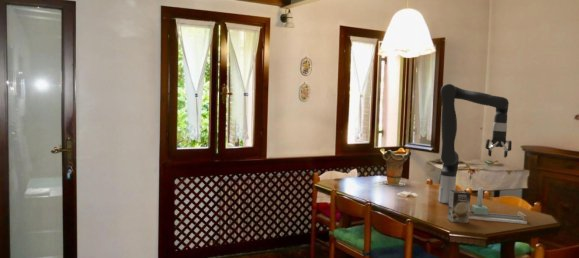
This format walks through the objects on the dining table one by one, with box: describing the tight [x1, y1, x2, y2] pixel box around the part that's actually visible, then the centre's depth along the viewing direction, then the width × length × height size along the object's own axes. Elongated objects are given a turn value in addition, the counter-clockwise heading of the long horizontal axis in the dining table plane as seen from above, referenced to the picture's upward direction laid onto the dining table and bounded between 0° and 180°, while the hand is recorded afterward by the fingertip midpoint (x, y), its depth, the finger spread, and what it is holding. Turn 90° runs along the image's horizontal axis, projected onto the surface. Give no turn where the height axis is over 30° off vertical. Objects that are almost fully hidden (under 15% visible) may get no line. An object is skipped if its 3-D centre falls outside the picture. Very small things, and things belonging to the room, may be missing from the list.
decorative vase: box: [379, 147, 411, 187], centre depth 339 cm, size 21×23×28 cm
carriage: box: [471, 187, 489, 215], centre depth 249 cm, size 7×7×14 cm
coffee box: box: [446, 189, 472, 224], centre depth 239 cm, size 9×6×16 cm
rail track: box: [468, 208, 528, 225], centre depth 248 cm, size 30×12×4 cm, turn 80°
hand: (497, 156), depth 270 cm, fingers open, 8 cm apart
